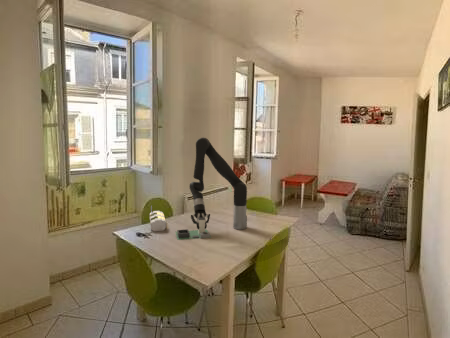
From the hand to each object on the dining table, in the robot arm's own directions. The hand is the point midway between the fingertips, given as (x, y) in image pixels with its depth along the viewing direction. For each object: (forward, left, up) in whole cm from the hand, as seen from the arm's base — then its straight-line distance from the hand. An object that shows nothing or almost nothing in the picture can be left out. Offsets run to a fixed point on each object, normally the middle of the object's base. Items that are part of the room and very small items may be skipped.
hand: (202, 228), depth 210 cm
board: (+6, -1, -6) cm, 8 cm away
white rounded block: (+28, -30, -6) cm, 42 cm away
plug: (0, -2, -4) cm, 5 cm away
